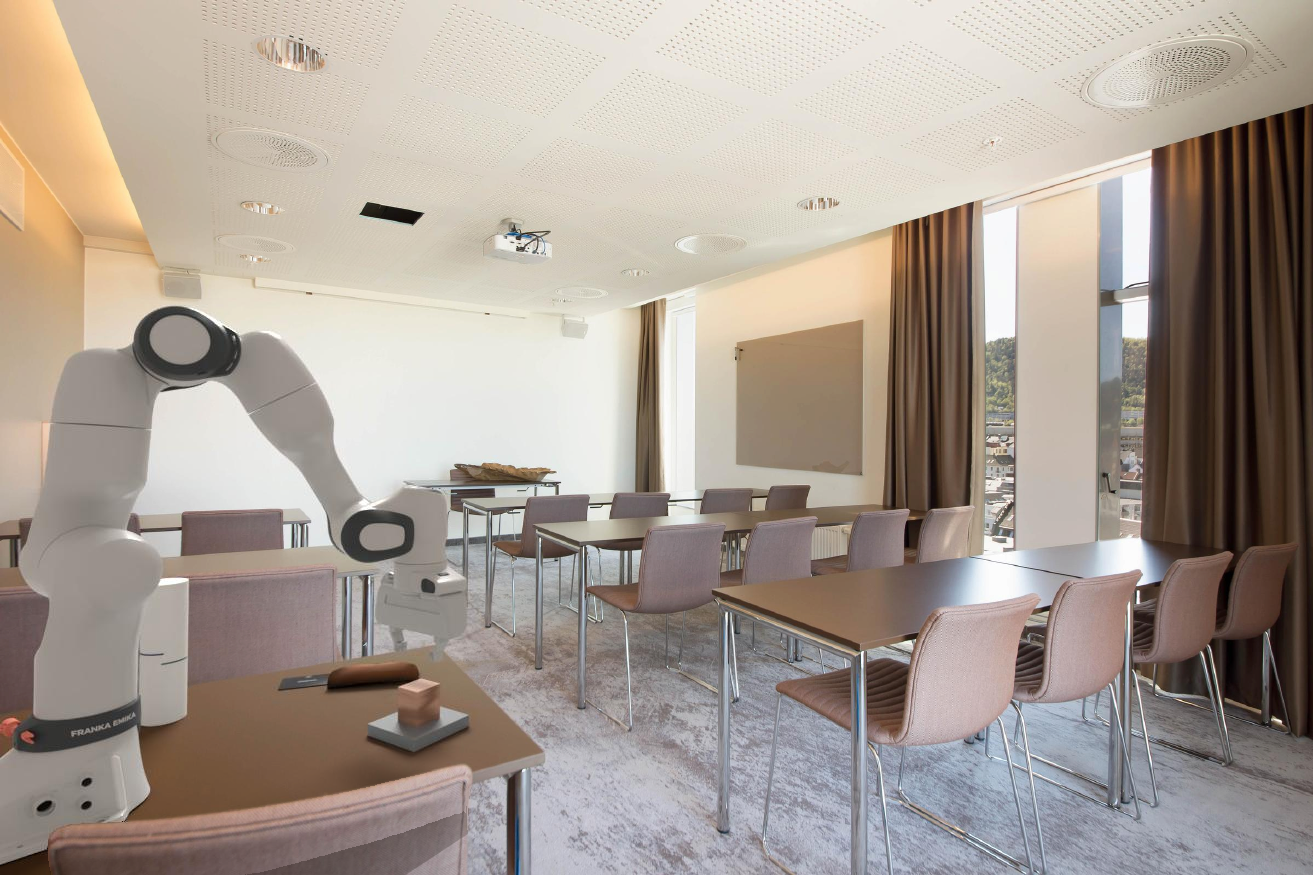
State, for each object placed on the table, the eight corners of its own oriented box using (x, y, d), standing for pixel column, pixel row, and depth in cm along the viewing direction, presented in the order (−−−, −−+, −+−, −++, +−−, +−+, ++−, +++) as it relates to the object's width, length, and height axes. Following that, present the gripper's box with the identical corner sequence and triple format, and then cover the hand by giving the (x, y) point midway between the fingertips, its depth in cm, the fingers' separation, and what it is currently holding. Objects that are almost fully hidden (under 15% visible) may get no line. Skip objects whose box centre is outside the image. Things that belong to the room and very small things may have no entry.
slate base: (414, 751, 111) (414, 739, 111) (367, 735, 117) (367, 723, 117) (468, 725, 121) (469, 714, 121) (423, 711, 127) (423, 701, 127)
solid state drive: (282, 681, 144) (282, 678, 144) (334, 675, 147) (334, 672, 147) (277, 692, 137) (278, 689, 137) (332, 686, 141) (332, 683, 141)
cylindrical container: (146, 713, 125) (148, 579, 125) (191, 708, 128) (193, 576, 128) (132, 728, 119) (134, 586, 119) (180, 722, 121) (182, 584, 121)
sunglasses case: (422, 668, 150) (421, 647, 147) (419, 694, 144) (418, 673, 141) (334, 675, 146) (331, 653, 143) (328, 702, 140) (325, 680, 137)
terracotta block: (417, 727, 115) (417, 692, 115) (397, 721, 118) (398, 686, 118) (439, 717, 120) (440, 683, 120) (420, 711, 122) (421, 678, 122)
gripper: (367, 573, 121) (364, 650, 121) (445, 586, 111) (443, 671, 111) (396, 568, 127) (394, 642, 126) (474, 581, 116) (472, 661, 116)
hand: (417, 655), depth 118 cm, fingers open, 8 cm apart
